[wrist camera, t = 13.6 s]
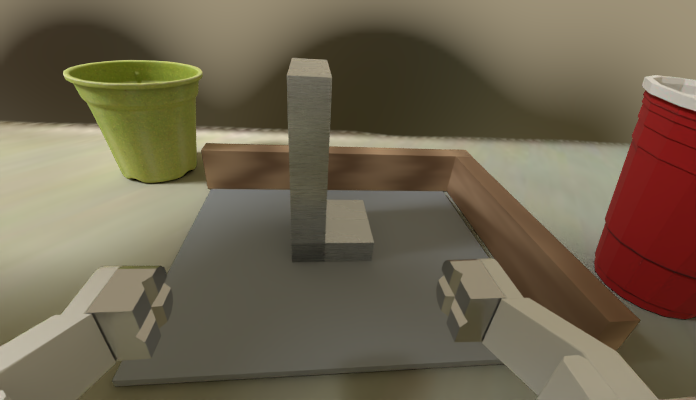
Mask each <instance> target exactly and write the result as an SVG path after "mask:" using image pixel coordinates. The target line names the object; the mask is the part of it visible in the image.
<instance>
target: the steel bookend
mask: <svg viewBox="0 0 696 400" xmlns="http://www.w3.org/2000/svg"><path fill="white" fill-rule="evenodd" d="M331 89H332V76H331V72H330V69H329V65H328V62H327V60H317V59H298V58H292V60H291V64H290V67H289V70H288V74H287V97H288V135H289V172H290V210H291V247H292V262H348V261H372V254H373V247H374V240H373V236H372V233H371V229H370V225H369V221H368V217H367V214H366V210H365V206H364V202H363V200H327V185H328V161H329V137H330V113H331V112H330V111H331Z"/></svg>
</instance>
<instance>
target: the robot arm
mask: <svg viewBox="0 0 696 400" xmlns="http://www.w3.org/2000/svg"><path fill="white" fill-rule="evenodd" d="M441 270H442V272H443V274H444V276H443V277H441V278H440V279H439V280H438V283H437V287H436V297H437V301H438V305H439V307H440V310H441V311H442V312H443V313H444V314H446V315H447V316H448V319H447V322H446V324H447V326H448V329H449V331H450V333H451V335H452V338H453V340H454V342H482V344H483V345H484V346H486V347H487V348H488V349H489V350H490V351H491V352H492V353H493V354H494V355H495V356H496V357H497V358H498V359H499V360H500V361H501V362H503V363H504V364H505V365H506V366H507V367H508V368H509V369H510V370H511V371H512V372H513V373H514V374H515V375H516V376H517V377H518V378H520V379H521V380H522V381H523V382H524V383H525V384H526V385H527V386H528V387H529V388H530V389H531V390H532V391H533V392H534V393H535V394H537V395H538V396H537V398H536V399H535V400H659V399H658V398H657V397H656V396H655V395H654V393H653V392H652V391H651V390H650V389H649V388H648V387H647V385H646V384H645V383H644V382H643V381H642V380H641V379H640V377H639V376H638V375H637V374H636V373H635V372H634V371H633V369H632V368H631V367H630V366H629V365H628V364H627V363H626V361H625V360H624V359H623V358H622V357H621V356H620V355H619V353H618V352H617V351H615V350H613V349H612V348H610V347H608V346H607V345H605V344H603V343H602V342H600V341H599V340H597V339H595V338H594V337H592V336H590V335H589V334H587V333H585V332H584V331H582V330H581V329H579V328H577V327H576V326H574V325H572V324H571V323H569V322H567V321H566V320H564V319H563V318H561V317H559V316H558V315H556V314H554V313H553V312H551V311H549V310H548V309H546V308H545V307H543V306H541V305H540V304H538V303H536V302H535V301H533V300H531V299H530V298H524V297H523V296H522V295H521V293H520V292H519V291H518V289H517V288H516V286H515V285H514V284H513V282H512V281H511V280H510V278H509V277H508V276H507V274H506V273H505V271H504V270H503V269H502V267H501V266H500V265H499V263H498V262H497V261H496V260H495V259H493V258H488V259H463V260H445V262H444V263H443V266H442V269H441ZM166 278H167V274H166V271H165V268H164V267H162V266H102V267H100V268H98V269H97V270H96V271H95V272H94V273H93V275H92V276H91V277H90V278H89V280H88V281H87V282H86V283H85V285H84V286H83V287H82V288H81V290H80V291H79V292H78V293H77V295H76V296H75V297H74V299H73V300H72V301H71V302H70V304H69V305H68V306H67V307H66V309H65V310H64V311H63V312H62V314H61V315H53V316H51V317H50V318H48V319H46V320H45V321H43V322H41V323H40V324H38V325H36V326H34V327H33V328H31V329H29V330H28V331H26V332H24V333H23V334H21V335H19V336H17V337H16V338H14V339H12V340H11V341H9V342H7V343H5V344H4V345H2V346H0V400H77V399H78V398H79V397H80V396H81V395H82V394H83V393H85V392H86V391H87V390H88V389H89V388H90V387H91V386H92V385H93V384H94V383H95V382H96V381H97V380H99V379H100V378H101V377H102V376H103V375H104V374H105V373H106V372H107V371H108V370H109V369H110V368H111V367H112V366H114V365H115V364H116V361H125V360H137V359H150V358H152V356H153V354H154V351H155V349H156V347H157V345H158V342H159V340H160V338H161V333H160V330H159V328H160V327H162V326H163V325H164V324H165V323H167V322H168V319H169V317H170V315H171V311H172V306H173V294H172V290H171V288H170V287H169V286H168V285H166V284H165V283H164V282H165V280H166ZM660 400H696V397H684V398H672V399H660Z"/></svg>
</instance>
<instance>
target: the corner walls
mask: <svg viewBox="0 0 696 400" xmlns="http://www.w3.org/2000/svg"><path fill="white" fill-rule="evenodd" d="M201 152H202V158H203V163H204V169H205V175H206V181H207V186H208V189H289V190H290V172H289V145H253V144H216V143H206V144H205V146H204V147H203V148H202V150H201ZM327 190H385V191H447V192H448V194H449V195H450V196H451V198H452V199H453V201H454V202H455V203H456V205H457V206H458V208H459V209H460V210H461V212H462V213H463V215H464V216H465V217H466V219H467V220H468V222H469V223H470V224H471V226H472V227H473V229H474V230H475V231H476V233H477V234H478V236H479V237H480V238H481V240H482V241H483V243H484V244H485V245H486V247H487V248H488V250H489V251H490V252H491V254H492V255H493V257H494V258H495V259H496V261H497V262H498V263H499V265H500V266H501V267H502V269H503V270H504V271H505V273H506V274H507V276H508V277H509V278H510V280H511V281H512V282H513V284H514V285H515V286H516V288H517V289H518V291H519V292H520V293H521V295H522V296H523V297H524V298H530V299H531V300H533V301H535V302H536V303H538V304H540V305H541V306H543V307H545V308H546V309H548V310H549V311H551V312H553V313H554V314H556V315H558V316H559V317H561V318H563V319H564V320H566V321H567V322H569V323H571V324H572V325H574V326H576V327H577V328H579V329H581V330H582V331H584V332H585V333H587V334H589V335H590V336H592V337H594V338H595V339H597V340H599V341H600V342H602V343H603V344H605V345H607V346H608V347H610V348H612V349H613V350H615V351H617V349H618V348H619V347H620V346H621V344H622V343H623V342H624V341H625V339H626V338H627V337H628V336H629V334H630V333H631V332H632V331H633V330H634V328H635V327H636V326H637V325H638V323H639V322H640V321H641V320H640V319H638V318H637V317H636V316H635V315H634V314H633V313H632V312H631V311H630V310H629V309H628V308H627V307H626V306H625V305H624V304H623V303H622V302H621V301H620V300H619V299H618V298H617V297H616V296H615V295H614V294H613V293H612V292H611V291H610V290H609V289H608V288H607V287H606V286H605V285H603V284H602V283H601V282H600V281H599V280H598V279H597V278H596V277H595V276H594V275H593V274H592V273H591V272H590V271H589V270H588V269H587V268H586V267H585V266H584V265H583V264H582V263H581V262H580V261H579V260H578V259H577V258H576V257H575V256H574V255H573V254H572V253H571V252H570V251H568V250H567V249H566V248H565V247H564V246H563V245H562V244H561V243H560V242H559V241H558V240H557V239H556V238H555V237H554V236H553V235H552V234H551V233H550V232H549V231H548V230H547V229H546V228H545V227H544V226H543V225H542V224H541V223H540V222H539V221H538V220H537V219H536V218H535V217H533V216H532V215H531V214H530V213H529V212H528V211H527V210H526V209H525V208H524V207H523V206H522V205H521V204H520V203H519V202H518V201H517V200H516V199H515V198H514V197H513V196H512V195H511V194H510V193H509V192H508V191H507V190H506V189H505V188H504V187H503V186H502V185H501V184H500V183H498V182H497V181H496V180H495V179H494V178H493V177H492V176H491V175H490V174H489V173H488V172H487V171H486V170H485V169H484V168H483V167H482V166H481V165H480V164H479V163H478V162H477V161H476V160H475V159H474V158H473V157H472V156H471V155H470V154H469V153H468V152H467V151H466V150H450V149H449V150H442V149H404V148H367V147H329V161H328V185H327Z"/></svg>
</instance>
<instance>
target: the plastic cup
mask: <svg viewBox="0 0 696 400" xmlns="http://www.w3.org/2000/svg"><path fill="white" fill-rule="evenodd" d="M642 87H644V89H645V90H646V91H645V92H644V94H643V95H644V98H643V100H642V103H643V105H642V107H641V110H640V112H639V114H638V117H639V120H638V122H637V124H636V127H635V129H634V132H633V134H632V138H633V139H632V142H631V145H630V148H629V151H628V154H627V157H626V160H625V162H624V165H623V168H622V171H621V174H620V177H619V180H618V183H617V185H616V188H615V191H614V194H613V197H612V200H611V203H610V206H609V209H608V211H607V214H606V217H605V221H606V223H605V226H604V229H603V232H602V235H601V238H600V241H599V244H598V246H597V249H596V252H595V256H596V258H595V261H594V265H595V271H596V273H597V274H598V276H599V277H600V278H601V280H602V281H603V282H604V283H605V284H606V285H607V286H608V287H610V288H611V289H612V290H613V291H614V292H616V293H617V294H618V295H619V296H621V297H623V298H624V299H626V300H628V301H630V302H632V303H633V304H635V305H637V306H639V307H641V308H643V309H646V310H648V311H651V312H654V313H657V314H659V315H662V316H665V317H672V318H679V319H689V318H693V317H696V80H691V79H684V78H677V77H667V76H657V75H654V76H648V77H645V78H644V81H643V84H642Z"/></svg>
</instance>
